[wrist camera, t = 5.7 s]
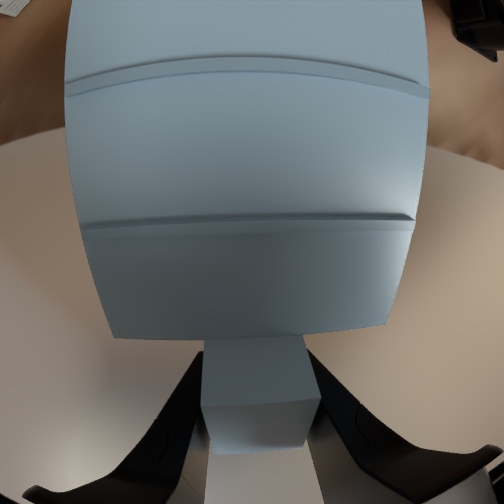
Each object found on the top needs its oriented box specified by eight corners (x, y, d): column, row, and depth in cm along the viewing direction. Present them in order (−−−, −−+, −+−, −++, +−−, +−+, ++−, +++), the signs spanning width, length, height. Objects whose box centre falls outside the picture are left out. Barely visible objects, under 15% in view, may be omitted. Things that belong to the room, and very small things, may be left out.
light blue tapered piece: (102, -6, 5) (32, -56, 1) (388, -1, 5) (471, -38, 1) (149, 366, 11) (132, 448, 7) (347, 355, 12) (378, 430, 8)
